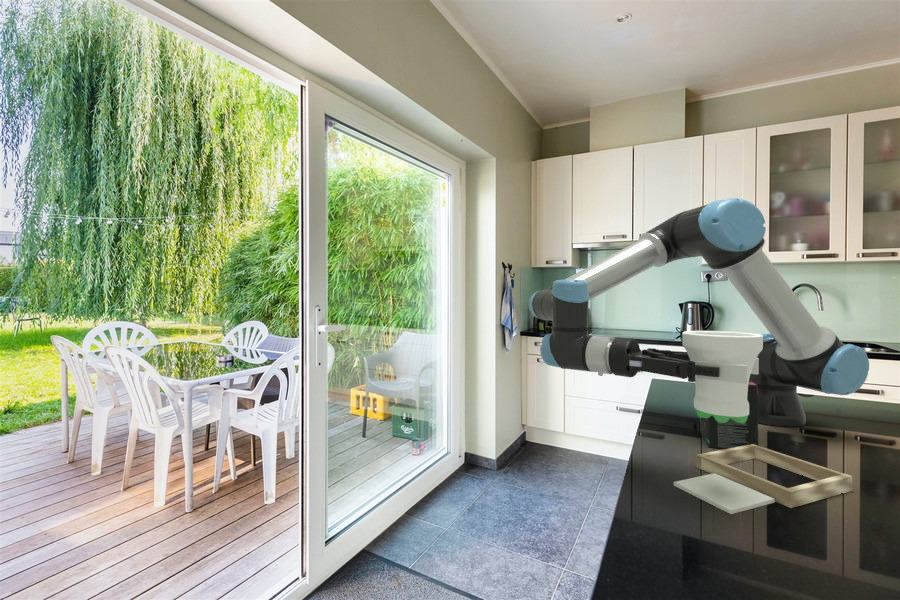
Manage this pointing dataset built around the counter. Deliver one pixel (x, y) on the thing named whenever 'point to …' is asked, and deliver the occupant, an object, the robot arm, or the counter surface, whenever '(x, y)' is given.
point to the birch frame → (791, 497)
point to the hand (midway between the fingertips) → (752, 370)
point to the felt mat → (724, 493)
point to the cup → (722, 348)
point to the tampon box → (733, 427)
